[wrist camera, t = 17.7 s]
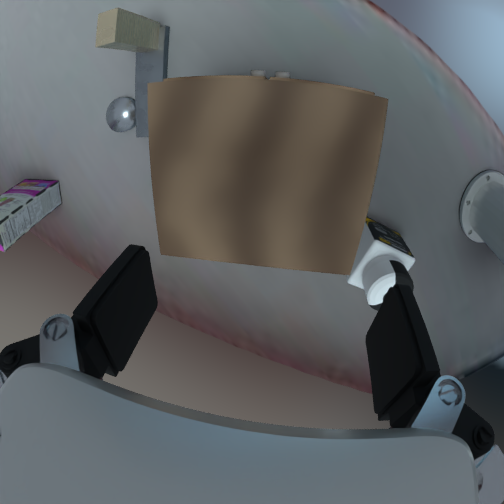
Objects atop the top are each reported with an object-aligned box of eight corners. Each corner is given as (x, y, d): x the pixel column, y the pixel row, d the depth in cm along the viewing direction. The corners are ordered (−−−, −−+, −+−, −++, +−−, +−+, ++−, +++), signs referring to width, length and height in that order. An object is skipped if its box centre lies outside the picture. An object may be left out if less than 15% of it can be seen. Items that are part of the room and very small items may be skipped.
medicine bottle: (400, 233, 37) (430, 284, 27) (376, 269, 41) (395, 324, 31) (362, 214, 36) (387, 264, 26) (339, 253, 40) (352, 310, 30)
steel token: (124, 90, 30) (119, 90, 29) (147, 110, 32) (141, 111, 31) (106, 117, 33) (100, 118, 31) (127, 137, 34) (121, 139, 33)
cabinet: (343, 87, 28) (389, 85, 14) (328, 201, 36) (349, 275, 23) (207, 76, 29) (147, 70, 15) (207, 189, 37) (160, 254, 24)
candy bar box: (29, 201, 42) (-25, 243, 28) (25, 178, 39) (-33, 217, 25) (63, 205, 41) (4, 254, 28) (59, 179, 39) (-6, 224, 25)
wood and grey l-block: (170, 24, 25) (124, 5, 15) (167, 134, 34) (123, 155, 24) (143, 28, 25) (92, 16, 15) (141, 135, 34) (93, 156, 24)
